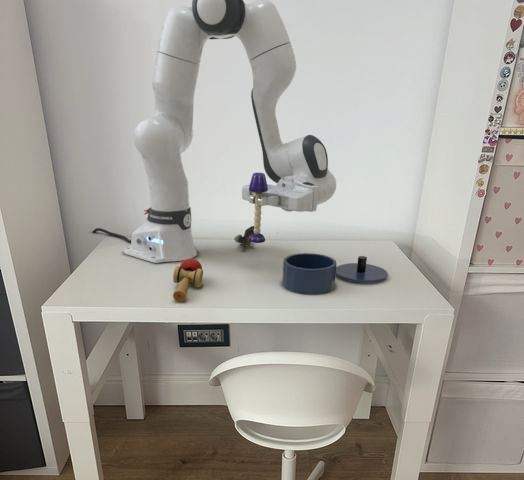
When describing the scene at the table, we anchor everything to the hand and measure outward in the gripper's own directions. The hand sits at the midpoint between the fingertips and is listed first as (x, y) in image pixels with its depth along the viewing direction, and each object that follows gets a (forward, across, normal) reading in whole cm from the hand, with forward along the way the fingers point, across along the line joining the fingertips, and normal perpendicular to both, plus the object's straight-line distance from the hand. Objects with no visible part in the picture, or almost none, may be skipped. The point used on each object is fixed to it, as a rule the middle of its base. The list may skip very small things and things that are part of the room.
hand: (255, 201), depth 123 cm
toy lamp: (-1, 0, +10) cm, 10 cm away
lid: (-25, +17, +21) cm, 37 cm away
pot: (-9, +11, +21) cm, 25 cm away
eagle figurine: (-21, -24, +22) cm, 38 cm away
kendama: (+16, -8, +21) cm, 28 cm away
